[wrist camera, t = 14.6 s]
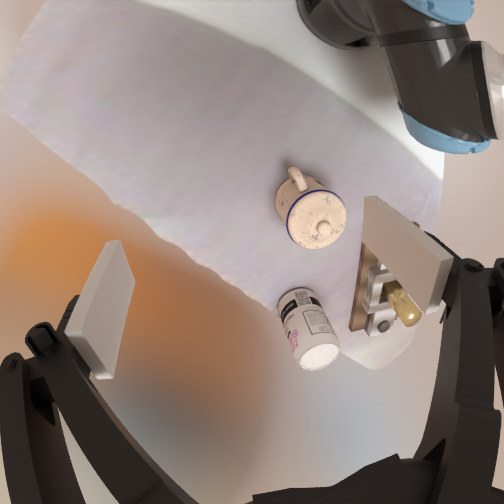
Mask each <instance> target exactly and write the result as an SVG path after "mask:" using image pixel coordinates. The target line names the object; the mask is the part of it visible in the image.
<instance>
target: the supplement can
mask: <svg viewBox="0 0 504 504" xmlns="http://www.w3.org/2000/svg"><path fill="white" fill-rule="evenodd" d="M278 311H279V314H280V317H281V320H282V323H283V326H284V329H285V332H286V335H287V338H288V341H289V344H290V347H291V350H292V353H293V355H294V359H295V361H296V362H297V363H298V364H299V365H301V367H302V368H304V369H306V370H318V369H322V368H324V367H326V366H328V365H330V364H331V363H332V362H333V361H335V359H336V358H337V357H338V354H339V340H338V338H337V336H336V334H335V332H334V330H333V328H332V326H331V324H330V322H329V320H328V318H327V316H326V314H325V312H324V310H323V308H322V306H321V304H320V302H319V300H318V299H317V297H316V295H315V294H314V292H312V291H310V290H309V289H302V288H301V289H296V290H292V291H290V292H288V293H287V294H286V295H285V296H283V297H282V299H281V300H280V302H279V305H278Z"/></svg>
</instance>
